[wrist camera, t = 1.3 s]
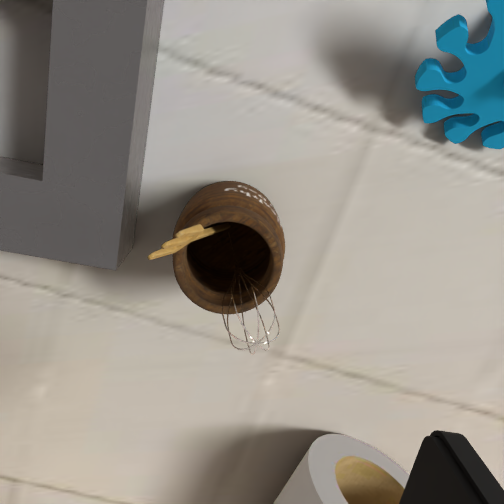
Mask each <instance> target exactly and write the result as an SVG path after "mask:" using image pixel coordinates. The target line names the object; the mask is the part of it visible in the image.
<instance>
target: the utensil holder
mask: <svg viewBox="0 0 504 504" xmlns="http://www.w3.org/2000/svg"><path fill="white" fill-rule="evenodd" d="M161 247H162V249H160V250H157V251H155V252H153V253H151V254H150V255H148V257H147V258H148V259H149V260H152V259H155V258H159V257H162V256H166V255H169V254H173V267H174V273H175V277H176V280H177V282H178V284H179V286H180V288H181V290H182V291H183V292H184V294H185V295H186V296H187V297H188V298H189V299H190V300H191V301H192V302H193V303H195V304H196V305H198V306H199V307H201V308H203V309H205V310H208V311H211V312H214V313H219V314H222V316H223V320H224V315H223V314H227V327H228V314H237V316H238V318H239V315H238V313H242V319H243V312H245V311H248V310H251V309H253V308H255V307H256V309H257V313H258V335H257V342H256V341H255V340H254V339H253V338H252V337H251V335H250V334H249V333H248V331H247V330H246V328H245V326H244V319H243V323H242V322H241V320H240V318H239V320H240V322H241V324H242V326H243V327H244V332H245V330H246V332H247V333H248V335H249V336H250V337H251V338H252V339H253V341H254V342H255V343H252V342H248V341H247V336H246V332H245V337H246V341H247V342H246V341H243V340H240V339H238V338H236V337H235V336H233V335H232V334H231V333H230V332H229V327H228V329H227V327H226V324H225V320H224V324H225V327H226V330H227V331H228V333H229V337H230V335H232V336H233V337H234V338H236V339H238V340H240V341H242V342H245V343H247V345H248V343H251V344H254V345H253V346H255V345H256V348H257V345H258V346H259V347H261V346H260V345H259V344H265V343H268V346H269V347H270V345H269V342H272V341H274V340H275V339H276V338H277V337H278V335H279V333H280V326H279V322H278V319H277V316H276V313H275V308H274V305H273V301H272V298H271V296H270V295H271V293H272V292H273V291H274V289H275V287H276V286H277V284H278V281H279V279H280V275H281V271H282V266H283V259H284V254H285V239H284V233H283V229H282V226H281V223H280V220H279V218H278V216H277V213H276V211H275V209H274V207H273V206H272V204H271V203H270V201H269V200H268V199H267V198H266V197H265V196H264V195H263V194H262V193H261V192H260V191H258V190H257V189H255V188H254V187H252V186H250V185H247V184H245V183H241V182H236V181H223V182H217V183H214V184H211V185H209V186H207V187H205V188H203V189H201V190H200V191H199V192H197V193H196V194H195V195H194V196H193V197H192V198H191V199H190V200H189V202H188V203H187V205H186V206H185V208H184V210H183V211H182V213H181V215H180V217H179V219H178V221H177V224H176V227H175V230H174V233H173V239H172V240H169V241H167V242H165V243H164V244H162V246H161ZM269 296H270V298H271V302H272V305H273V306H272V305H271V303H270V302H269V301H268V300H267V298H268V297H269ZM265 300H267V301H268V302H269V304H270V305H271V307H272V309H273V311H274V320H273V324H274V321H275V316H276V319H277V323H278V327H279V333H278V335H277V336H276V338H274V339H273V340H271V341H269V340H268V336H267V334H268V333H269V332H270V330H271V329H272V327H273V324H272V326H271V328H270V330H269V331H268V333H266V329H265V326H264V323H263V320H262V318H261V316H260V313H259V311H258V305H260V304H261V303H262V302H264V301H265ZM259 316H260V318H261V321H262V323H263V326H264V329H265V333H266V335H265V336H264V337H263V338H262V339H261V340H260V341H262V340H263V339H264V338H265V337H267V341H268V342H263V343H259V342H260V341H259V342H258V337H259ZM230 341H231V337H230ZM231 344H232V341H231ZM232 346H233V347H234V348H236V347H235V346H234V345H233V344H232ZM253 346H251V347H253ZM251 347H249V345H248V348H245V349H238V348H236V349H238V350H246V349H249V352H250V354H251V355H254V354H255V352H256V348H255V351H254V353H253V354H252V353H251V351H250V348H251ZM269 347H268V349H264V348H263V347H261V348H262V349H264V350H269Z"/></svg>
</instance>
